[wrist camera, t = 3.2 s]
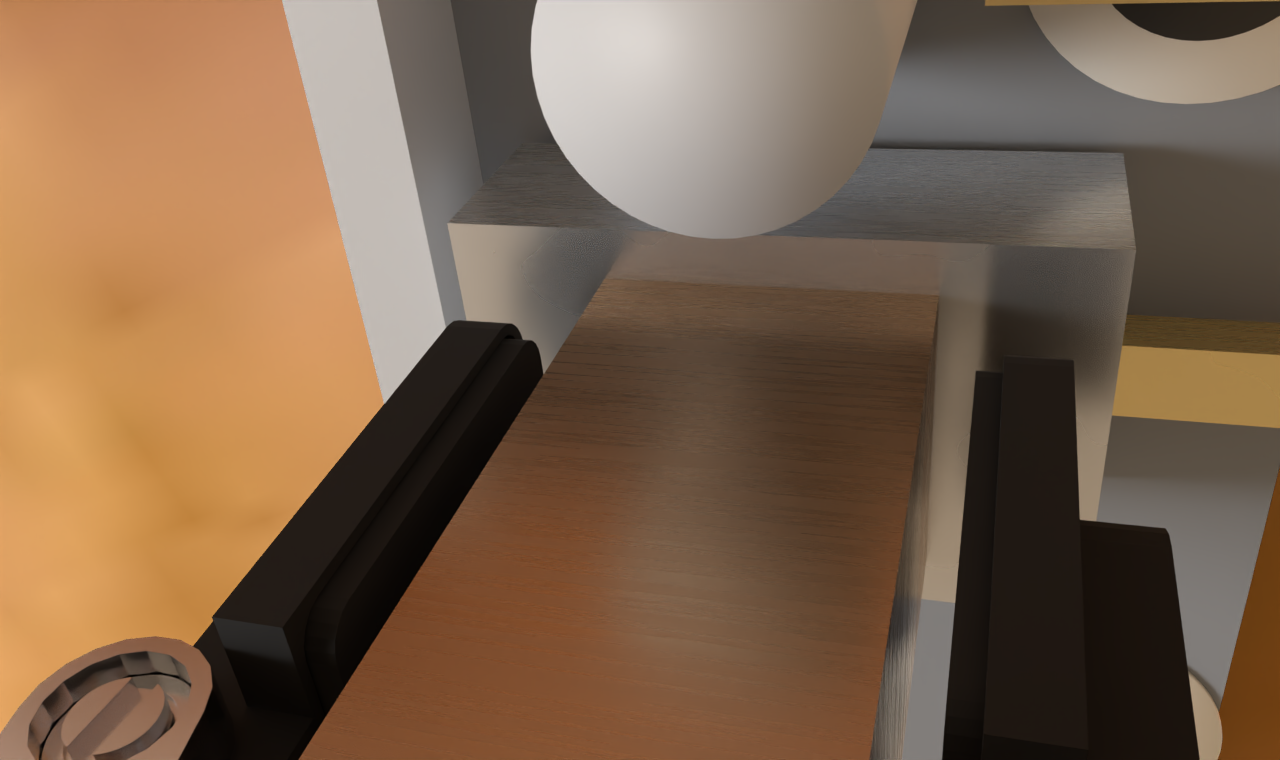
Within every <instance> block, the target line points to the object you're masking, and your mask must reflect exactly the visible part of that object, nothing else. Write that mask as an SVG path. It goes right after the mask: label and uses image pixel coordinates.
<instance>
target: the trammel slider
mask: <svg viewBox="0 0 1280 760" xmlns="http://www.w3.org/2000/svg"><path fill="white" fill-rule="evenodd" d="M447 225H448V230H449V235H450V240H451V245H452V250H453V255H454V260H455V265H456V270H457V275H458V280H459V285H460V290H461V295H462V300H463V305H464V310H465V315H466V320H467V321H481V322H497V323H512V324H514V325H515V326H516V327H517V328H518V329H519V331H520V333H521V335H522V339H523V340H532V341H534V342H535V343H536V345H537V346H538V348H539V352H540V356H541V362H542V368H543V374H544V375H543V376H542V378H541V379H540V381H539V383H538V384H537V386H536V387H535V389H534V390H533V392H532V394H531V395H530V397H529V398H528V400H527V401H526V403H525V405H524V406H523V408H522V409H521V411H520V412H519V414H518V416H517V417H516V419H515V420H514V422H513V423H512V425H511V427H510V428H509V430H508V431H507V433H506V434H505V436H504V438H503V439H502V441H501V442H500V444H499V445H498V447H497V449H496V450H495V452H494V453H493V455H492V456H491V458H490V460H489V461H488V463H487V464H486V466H485V467H484V469H483V471H482V472H481V474H480V475H479V477H478V478H477V480H476V482H475V483H474V485H473V486H472V488H471V489H470V491H469V493H468V494H467V496H466V497H465V499H464V500H463V502H462V504H461V505H460V507H459V508H458V510H457V511H456V513H455V515H454V516H453V518H452V519H451V521H450V522H449V524H448V526H447V527H446V529H445V530H444V532H443V533H442V535H441V537H440V538H439V540H438V541H437V543H436V544H435V546H434V548H433V549H432V551H431V552H430V554H429V555H428V557H427V559H426V560H425V562H424V563H423V565H422V566H421V568H420V570H419V571H418V573H417V574H416V576H415V577H414V579H413V581H412V582H411V584H410V585H409V587H408V588H407V590H406V592H405V593H404V595H403V596H402V598H401V599H400V601H399V603H398V604H397V606H396V607H395V609H394V610H393V612H392V614H391V615H390V617H389V618H388V620H387V621H386V623H385V625H384V626H383V628H382V629H381V631H380V632H379V634H378V636H377V637H376V639H375V640H374V642H373V643H372V645H371V647H370V648H369V650H368V651H367V653H366V654H365V656H364V658H363V659H362V661H361V662H360V664H359V665H358V667H357V669H356V670H355V672H354V673H353V675H352V676H351V678H350V680H349V681H348V683H347V684H346V686H345V687H344V689H343V691H342V692H341V694H340V695H339V697H338V698H337V700H336V702H335V703H334V705H333V706H332V708H331V709H330V711H329V713H328V714H327V716H326V717H325V719H324V720H323V722H322V724H321V725H320V727H319V728H318V730H317V731H316V733H315V735H314V736H313V738H312V739H311V741H310V742H309V744H308V746H307V747H306V749H305V750H304V752H303V753H302V755H301V757H300V758H299V760H902V754H903V746H904V738H905V729H906V721H907V713H908V705H909V697H910V689H911V681H912V672H913V664H914V656H915V648H916V640H917V632H918V623H919V615H920V607H921V599H926V600H934V601H942V602H951V603H955V599H956V588H957V576H958V565H959V554H960V543H961V531H962V520H963V509H964V498H965V487H966V475H967V464H968V453H969V442H970V430H971V419H972V408H973V397H974V386H975V374H976V370H977V371H992V372H1002V370H1003V360H1004V355H1013V356H1028V357H1044V358H1060V359H1073V360H1074V373H1075V400H1076V428H1077V455H1078V483H1079V510H1080V520H1088V521H1096V519H1097V513H1098V506H1099V499H1100V492H1101V485H1102V479H1103V472H1104V465H1105V458H1106V452H1107V445H1108V438H1109V431H1110V424H1111V418H1112V415H1113V416H1126V417H1139V418H1153V419H1166V420H1179V421H1192V422H1205V423H1218V424H1232V425H1245V426H1258V427H1271V428H1280V323H1275V322H1256V321H1237V320H1218V319H1199V318H1181V317H1162V316H1143V315H1127V309H1128V302H1129V296H1130V289H1131V282H1132V275H1133V268H1134V262H1135V255H1136V244H1135V237H1134V230H1133V222H1132V215H1131V208H1130V200H1129V193H1128V186H1127V178H1126V171H1125V164H1124V156H1123V153H1100V152H1041V151H983V150H925V149H868V151H867V153H866V155H865V157H864V158H863V160H862V162H861V164H860V165H859V166H858V168H857V169H856V170H855V172H854V173H853V174H852V176H851V177H850V179H849V180H848V181H847V182H846V183H845V184H844V185H843V186H842V187H841V188H840V189H839V190H838V191H837V192H836V194H835V195H834V196H833V197H831V198H830V199H829V200H828V201H826V202H825V203H824V204H822V205H821V206H820V207H819V208H817V209H816V210H815V211H813V212H811V213H810V214H808V215H806V216H804V217H803V218H801V219H799V220H798V221H796V222H793V223H791V224H789V225H786V226H784V227H782V228H779V229H777V230H773V231H770V232H766V233H763V234H759V235H755V236H748V237H741V238H731V239H710V238H700V237H691V236H686V235H682V234H677V233H673V232H669V231H666V230H663V229H661V228H658V227H655V226H652V225H649V224H647V223H645V222H643V221H641V220H639V219H637V218H635V217H633V216H631V215H629V214H628V213H626V212H624V211H623V210H621V209H620V208H618V207H617V206H615V205H613V204H612V203H611V202H609V201H608V200H607V199H606V198H604V197H603V196H602V195H601V194H599V193H598V192H597V191H596V190H595V189H594V188H593V187H592V186H591V185H590V184H589V183H588V182H587V181H586V180H585V179H584V178H583V177H582V176H581V175H580V174H579V173H578V172H577V171H576V169H575V168H574V167H573V165H572V164H571V163H570V162H569V160H568V159H567V158H566V157H565V155H564V153H563V152H562V150H561V149H560V147H559V145H558V144H557V143H522V144H521V145H520V146H519V147H518V148H517V149H516V150H515V151H514V153H513V154H512V155H511V156H510V157H509V158H508V159H507V160H506V161H505V162H504V163H503V164H502V165H501V166H500V167H499V169H498V170H497V171H496V172H495V173H494V174H493V175H492V176H491V177H490V178H489V179H488V180H487V181H486V182H485V183H484V185H483V186H482V187H481V188H480V189H479V190H478V191H477V192H476V193H475V194H474V195H473V196H472V197H471V198H470V199H469V200H468V202H467V203H466V204H465V205H464V206H463V207H462V208H461V209H460V210H459V211H458V212H457V213H456V214H455V215H454V216H453V218H452V219H451V220H450V221H449V222H448V223H447Z"/></svg>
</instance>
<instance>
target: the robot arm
mask: <svg viewBox="0 0 1280 760" xmlns="http://www.w3.org/2000/svg"><path fill="white" fill-rule="evenodd" d="M543 375H544V374H543V368H542V362H541V356H540V352H539V348H538V346H537V345H536V343H535V342H534V341H532V340H523V339H522V335H521V333H520V331H519V329H518V328H517V327H516V326H515V325H514V324H512V323H497V322H481V321H465V320H457V321H453V322H452V323H450V324H449V325H448V326H447V327H446V328H445V330H444V331H443V332H442V333H441V335H440V336H439V337H438V338H437V339H436V341H435V342H434V343H433V344H432V346H431V347H430V348H429V349H428V351H427V352H426V353H425V354H424V356H423V357H422V358H421V359H420V360H419V362H418V363H417V364H416V365H415V367H414V368H413V369H412V370H411V372H410V373H409V374H408V375H407V377H406V378H405V379H404V380H403V382H402V383H401V384H400V385H399V386H398V388H397V389H396V390H395V391H394V393H393V394H392V395H391V396H390V398H389V399H388V400H387V401H386V403H385V404H384V405H383V406H382V407H381V409H380V410H379V411H378V412H377V414H376V415H375V416H374V417H373V419H372V420H371V421H370V422H369V424H368V425H367V426H366V427H365V429H364V430H363V431H362V432H361V433H360V435H359V436H358V437H357V438H356V440H355V441H354V442H353V443H352V445H351V446H350V447H349V448H348V450H347V451H346V452H345V453H344V455H343V456H342V457H341V458H340V459H339V461H338V462H337V463H336V464H335V466H334V467H333V468H332V469H331V471H330V472H329V473H328V474H327V476H326V477H325V478H324V479H323V480H322V482H321V483H320V484H319V485H318V487H317V488H316V489H315V490H314V492H313V493H312V494H311V495H310V497H309V498H308V499H307V500H306V502H305V503H304V504H303V505H302V506H301V508H300V509H299V510H298V511H297V513H296V514H295V515H294V516H293V518H292V519H291V520H290V521H289V523H288V524H287V525H286V526H285V528H284V529H283V530H282V531H281V532H280V534H279V535H278V536H277V537H276V539H275V540H274V541H273V542H272V544H271V545H270V546H269V547H268V549H267V550H266V551H265V552H264V553H263V555H262V556H261V557H260V558H259V560H258V561H257V562H256V563H255V565H254V566H253V567H252V568H251V570H250V571H249V572H248V573H247V575H246V576H245V577H244V578H243V579H242V581H241V582H240V583H239V584H238V586H237V587H236V588H235V589H234V591H233V592H232V593H231V594H230V596H229V597H228V598H227V599H226V600H225V602H224V603H223V604H222V605H221V607H220V608H219V609H218V610H217V612H216V613H215V614H214V615H213V617H212V618H213V622H212V623H211V625H210V626H209V627H208V628H207V630H206V631H205V632H204V633H203V635H202V636H201V637H200V638H199V640H198V641H197V642H196V643H195V645H194V646H191V645H189V644H187V643H185V642H183V641H181V640H177V639H170V638H163V637H156V636H155V637H145V638H136V639H127V640H123V641H120V642H117V643H114V644H110V645H107V646H104V647H101V648H97V649H95V650H93V651H91V652H89V653H87V654H85V655H83V656H81V657H79V658H77V659H75V660H73V661H71V662H69V663H67V664H66V665H64V666H63V667H62V668H60V669H59V670H58V671H56V672H55V673H54V674H52V675H51V676H50V677H48V678H47V679H46V680H44V681H43V682H42V683H40V684H39V685H38V686H37V688H36V689H35V690H34V691H33V692H32V693H31V694H30V695H29V697H28V698H27V699H26V700H25V701H24V702H23V703H22V704H21V706H20V707H19V708H18V709H17V711H16V712H15V714H14V715H13V716H12V718H11V719H10V721H9V722H8V724H7V725H6V726H5V728H4V729H3V731H2V732H1V734H0V760H299V758H300V757H301V755H302V753H303V752H304V750H305V749H306V747H307V746H308V744H309V742H310V741H311V739H312V738H313V736H314V735H315V733H316V731H317V730H318V728H319V727H320V725H321V724H322V722H323V720H324V719H325V717H326V716H327V714H328V713H329V711H330V709H331V708H332V706H333V705H334V703H335V702H336V700H337V698H338V697H339V695H340V694H341V692H342V691H343V689H344V687H345V686H346V684H347V683H348V681H349V680H350V678H351V676H352V675H353V673H354V672H355V670H356V669H357V667H358V665H359V664H360V662H361V661H362V659H363V658H364V656H365V654H366V653H367V651H368V650H369V648H370V647H371V645H372V643H373V642H374V640H375V639H376V637H377V636H378V634H379V632H380V631H381V629H382V628H383V626H384V625H385V623H386V621H387V620H388V618H389V617H390V615H391V614H392V612H393V610H394V609H395V607H396V606H397V604H398V603H399V601H400V599H401V598H402V596H403V595H404V593H405V592H406V590H407V588H408V587H409V585H410V584H411V582H412V581H413V579H414V577H415V576H416V574H417V573H418V571H419V570H420V568H421V566H422V565H423V563H424V562H425V560H426V559H427V557H428V555H429V554H430V552H431V551H432V549H433V548H434V546H435V544H436V543H437V541H438V540H439V538H440V537H441V535H442V533H443V532H444V530H445V529H446V527H447V526H448V524H449V522H450V521H451V519H452V518H453V516H454V515H455V513H456V511H457V510H458V508H459V507H460V505H461V504H462V502H463V500H464V499H465V497H466V496H467V494H468V493H469V491H470V489H471V488H472V486H473V485H474V483H475V482H476V480H477V478H478V477H479V475H480V474H481V472H482V471H483V469H484V467H485V466H486V464H487V463H488V461H489V460H490V458H491V456H492V455H493V453H494V452H495V450H496V449H497V447H498V445H499V444H500V442H501V441H502V439H503V438H504V436H505V434H506V433H507V431H508V430H509V428H510V427H511V425H512V423H513V422H514V420H515V419H516V417H517V416H518V414H519V412H520V411H521V409H522V408H523V406H524V405H525V403H526V401H527V400H528V398H529V397H530V395H531V394H532V392H533V390H534V389H535V387H536V386H537V384H538V383H539V381H540V379H541V378H542V376H543ZM942 760H1200V757H1199V750H1198V742H1197V735H1196V727H1195V719H1194V712H1193V704H1192V696H1191V689H1190V681H1189V674H1188V666H1187V658H1186V651H1185V643H1184V635H1183V628H1182V620H1181V613H1180V605H1179V597H1178V590H1177V582H1176V575H1175V567H1174V559H1173V552H1172V545H1171V541H1170V536H1169V533H1168V531H1167V530H1166V528H1158V527H1148V526H1138V525H1128V524H1118V523H1108V522H1098V521H1088V520H1080V510H1079V483H1078V455H1077V428H1076V400H1075V373H1074V360H1073V359H1060V358H1044V357H1028V356H1013V355H1004V360H1003V370H1002V372H992V371H977V370H976V374H975V386H974V397H973V408H972V419H971V430H970V442H969V453H968V464H967V475H966V487H965V498H964V509H963V520H962V531H961V543H960V554H959V565H958V576H957V588H956V599H955V610H954V621H953V632H952V644H951V655H950V666H949V677H948V689H947V700H946V713H945V725H944V738H943V752H942Z"/></svg>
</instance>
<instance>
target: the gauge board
mask: <svg viewBox="0 0 1280 760" xmlns="http://www.w3.org/2000/svg"><path fill="white" fill-rule="evenodd" d="M282 2H283V6H284V10H285V14H286V18H287V22H288V26H289V30H290V34H291V38H292V42H293V46H294V50H295V54H296V58H297V61H298V65H299V69H300V73H301V77H302V81H303V85H304V89H305V93H306V97H307V101H308V105H309V109H310V113H311V117H312V121H313V125H314V129H315V133H316V136H317V140H318V144H319V148H320V152H321V156H322V160H323V164H324V168H325V172H326V176H327V180H328V184H329V188H330V192H331V196H332V200H333V204H334V208H335V211H336V215H337V219H338V223H339V227H340V231H341V235H342V239H343V243H344V247H345V251H346V255H347V259H348V263H349V267H350V271H351V275H352V279H353V283H354V286H355V290H356V294H357V298H358V302H359V306H360V310H361V314H362V318H363V322H364V326H365V330H366V334H367V338H368V342H369V346H370V350H371V354H372V358H373V361H374V365H375V369H376V373H377V377H378V381H379V385H380V389H381V393H382V397H383V401H384V404H385V403H386V401H387V400H388V399H389V398H390V396H391V395H392V394H393V393H394V391H395V390H396V389H397V388H398V386H399V385H400V384H401V383H402V382H403V380H404V379H405V378H406V377H407V375H408V374H409V373H410V372H411V370H412V369H413V368H414V367H415V365H416V364H417V363H418V362H419V360H420V359H421V358H422V357H423V356H424V354H425V353H426V352H427V351H428V349H429V348H430V347H431V346H432V344H433V343H434V342H435V341H436V339H437V338H438V337H439V336H440V335H441V333H442V332H443V331H444V330H445V328H446V327H447V326H448V325H449V324H450V323H452V322H453V321H457V320H465V321H467V320H466V315H465V310H464V305H463V300H462V295H461V290H460V285H459V280H458V275H457V270H456V265H455V260H454V255H453V250H452V245H451V240H450V235H449V230H448V225H447V223H448V222H449V221H450V220H451V219H452V218H453V216H454V215H455V214H456V213H457V212H458V211H459V210H460V209H461V208H462V207H463V206H464V205H465V204H466V203H467V202H468V200H469V199H470V198H471V197H472V196H473V195H474V194H475V193H476V192H477V191H478V190H479V189H480V188H481V187H482V186H483V185H484V183H485V182H486V181H487V180H488V179H489V178H490V177H491V176H492V175H493V174H494V173H495V172H496V171H497V170H498V169H499V167H500V166H501V165H502V164H503V163H504V162H505V161H506V160H507V159H508V158H509V157H510V156H511V155H512V154H513V153H514V151H515V150H516V149H517V148H518V147H519V146H520V145H521V144H522V143H557V144H558V145H559V147H560V149H561V150H562V152H563V153H564V155H565V157H566V158H567V159H568V160H569V162H570V163H571V164H572V165H573V167H574V168H575V169H576V171H577V172H578V173H579V174H580V175H581V176H582V177H583V178H584V179H585V180H586V181H587V182H588V183H589V184H590V185H591V186H592V187H593V188H594V189H595V190H596V191H597V192H598V193H599V194H601V195H602V196H603V197H604V198H606V199H607V200H608V201H609V202H611V203H612V204H613V205H615V206H617V207H618V208H620V209H621V210H623V211H624V212H626V213H628V214H629V215H631V216H633V217H635V218H637V219H639V220H641V221H643V222H645V223H647V224H649V225H652V226H655V227H658V228H661V229H663V230H666V231H669V232H673V233H677V234H682V235H686V236H691V237H700V238H710V239H731V238H741V237H748V236H755V235H759V234H763V233H766V232H770V231H773V230H777V229H779V228H782V227H784V226H786V225H789V224H791V223H793V222H796V221H798V220H799V219H801V218H803V217H804V216H806V215H808V214H810V213H811V212H813V211H815V210H816V209H817V208H819V207H820V206H821V205H822V204H824V203H825V202H826V201H828V200H829V199H830V198H831V197H833V196H834V195H835V194H836V192H837V191H838V190H839V189H840V188H841V187H842V186H843V185H844V184H845V183H846V182H847V181H848V180H849V179H850V177H851V176H852V174H853V173H854V172H855V170H856V169H857V168H858V166H859V165H860V164H861V162H862V160H863V158H864V157H865V155H866V153H867V151H868V149H925V150H983V151H1041V152H1100V153H1123V156H1124V164H1125V171H1126V178H1127V186H1128V193H1129V200H1130V208H1131V215H1132V222H1133V230H1134V237H1135V244H1136V255H1135V262H1134V268H1133V275H1132V282H1131V289H1130V296H1129V302H1128V309H1127V315H1143V316H1162V317H1181V318H1199V319H1218V320H1237V321H1256V322H1275V323H1280V0H282ZM1279 467H1280V428H1271V427H1258V426H1245V425H1232V424H1218V423H1205V422H1192V421H1179V420H1166V419H1153V418H1139V417H1126V416H1113V415H1112V418H1111V424H1110V431H1109V438H1108V445H1107V452H1106V458H1105V465H1104V472H1103V479H1102V485H1101V492H1100V499H1099V506H1098V513H1097V519H1096V521H1098V522H1108V523H1118V524H1128V525H1138V526H1148V527H1158V528H1166V530H1167V531H1168V533H1169V536H1170V541H1171V545H1172V552H1173V559H1174V567H1175V575H1176V582H1177V590H1178V597H1179V605H1180V613H1181V620H1182V628H1183V635H1184V643H1185V651H1186V658H1187V666H1188V674H1189V681H1190V689H1191V696H1192V704H1193V712H1194V719H1195V727H1196V735H1197V742H1198V750H1199V757H1200V760H1218V757H1219V754H1220V751H1221V746H1222V739H1223V738H1222V725H1221V720H1220V716H1219V710H1220V706H1221V702H1222V698H1223V694H1224V689H1225V685H1226V681H1227V677H1228V673H1229V669H1230V665H1231V661H1232V657H1233V653H1234V649H1235V645H1236V641H1237V637H1238V633H1239V629H1240V625H1241V621H1242V617H1243V613H1244V609H1245V605H1246V601H1247V596H1248V592H1249V588H1250V584H1251V580H1252V576H1253V572H1254V568H1255V564H1256V560H1257V556H1258V552H1259V548H1260V544H1261V540H1262V536H1263V532H1264V528H1265V524H1266V520H1267V516H1268V512H1269V507H1270V503H1271V499H1272V495H1273V491H1274V487H1275V483H1276V479H1277V475H1278V471H1279ZM954 610H955V603H951V602H942V601H934V600H926V599H921V607H920V615H919V623H918V632H917V640H916V648H915V656H914V664H913V672H912V681H911V689H910V697H909V705H908V713H907V721H906V729H905V738H904V746H903V754H902V760H942V752H943V738H944V725H945V713H946V700H947V689H948V677H949V666H950V655H951V644H952V632H953V621H954Z"/></svg>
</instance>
